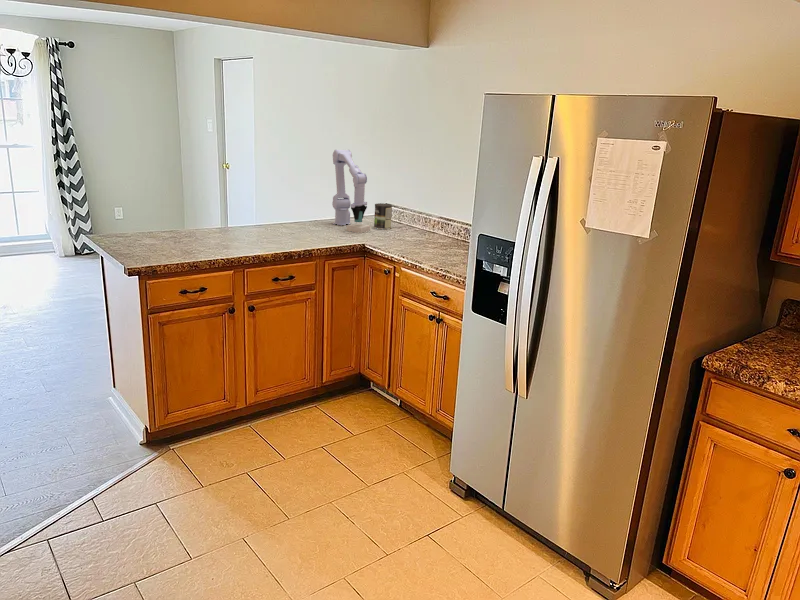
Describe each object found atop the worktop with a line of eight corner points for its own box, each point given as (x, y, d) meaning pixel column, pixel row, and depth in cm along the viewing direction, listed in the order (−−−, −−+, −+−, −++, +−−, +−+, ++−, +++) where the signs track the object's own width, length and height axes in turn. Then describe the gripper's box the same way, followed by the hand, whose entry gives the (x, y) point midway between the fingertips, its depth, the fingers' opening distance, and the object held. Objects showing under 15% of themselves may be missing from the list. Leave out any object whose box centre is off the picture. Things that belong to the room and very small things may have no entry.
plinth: (355, 228, 359) (355, 223, 358) (370, 230, 355) (370, 225, 354) (346, 230, 350) (346, 225, 350) (361, 233, 346) (361, 227, 345)
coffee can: (376, 229, 359) (377, 205, 355) (372, 226, 369) (372, 203, 364) (393, 229, 362) (394, 205, 358) (388, 226, 372) (389, 203, 368)
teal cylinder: (356, 220, 354) (356, 210, 352) (363, 221, 352) (363, 211, 350) (353, 221, 350) (353, 211, 348) (359, 222, 348) (359, 212, 347)
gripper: (358, 197, 339) (357, 221, 343) (371, 194, 351) (371, 218, 355) (347, 195, 342) (347, 219, 346) (361, 193, 354) (360, 216, 358)
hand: (358, 219), depth 351 cm, fingers closed on teal cylinder, 4 cm apart
